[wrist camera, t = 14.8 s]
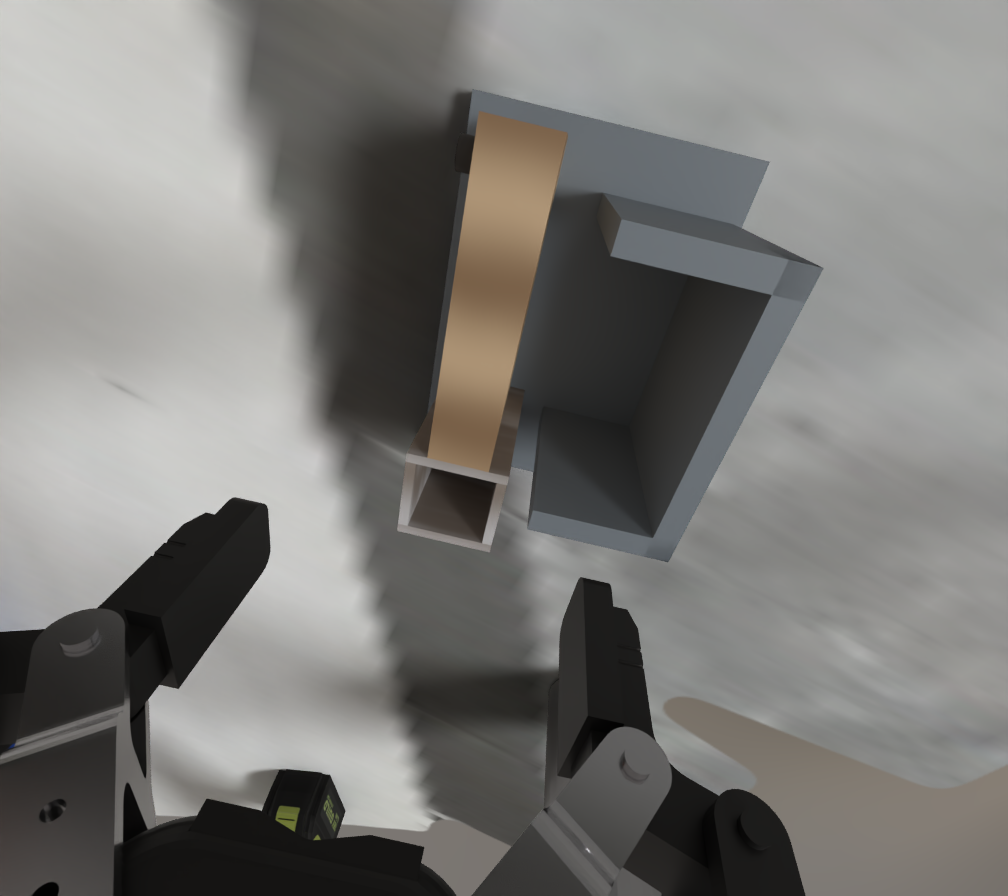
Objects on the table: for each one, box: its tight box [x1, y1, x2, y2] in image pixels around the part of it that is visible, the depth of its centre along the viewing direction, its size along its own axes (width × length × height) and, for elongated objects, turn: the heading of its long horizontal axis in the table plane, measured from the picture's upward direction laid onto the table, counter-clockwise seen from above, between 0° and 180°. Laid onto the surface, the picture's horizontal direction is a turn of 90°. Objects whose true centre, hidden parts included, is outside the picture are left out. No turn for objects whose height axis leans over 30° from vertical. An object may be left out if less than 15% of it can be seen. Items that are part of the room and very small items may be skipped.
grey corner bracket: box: [427, 89, 823, 562], centre depth 26 cm, size 21×15×12 cm
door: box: [397, 111, 568, 552], centre depth 26 cm, size 19×5×10 cm, turn 168°
